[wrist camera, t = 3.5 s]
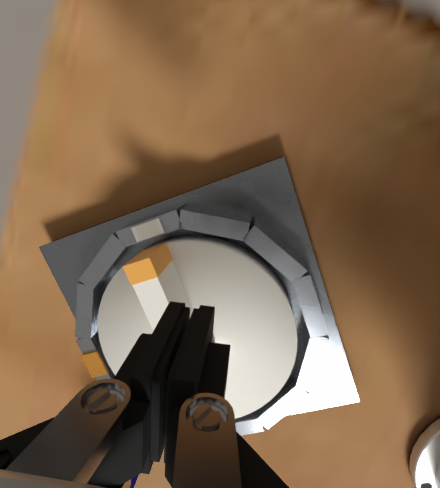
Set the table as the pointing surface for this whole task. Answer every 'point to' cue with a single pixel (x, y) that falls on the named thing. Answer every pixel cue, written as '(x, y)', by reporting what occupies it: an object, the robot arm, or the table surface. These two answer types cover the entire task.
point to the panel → (239, 233)
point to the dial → (209, 294)
